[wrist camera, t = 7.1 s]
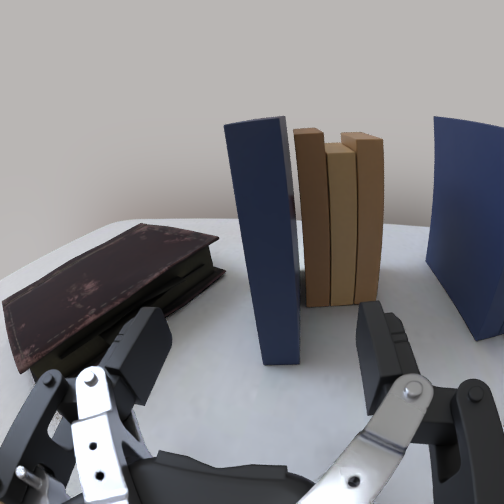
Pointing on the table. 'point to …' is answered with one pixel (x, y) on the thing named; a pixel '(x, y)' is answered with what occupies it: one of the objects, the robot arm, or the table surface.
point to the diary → (104, 296)
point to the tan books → (340, 215)
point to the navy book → (268, 232)
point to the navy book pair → (469, 221)
